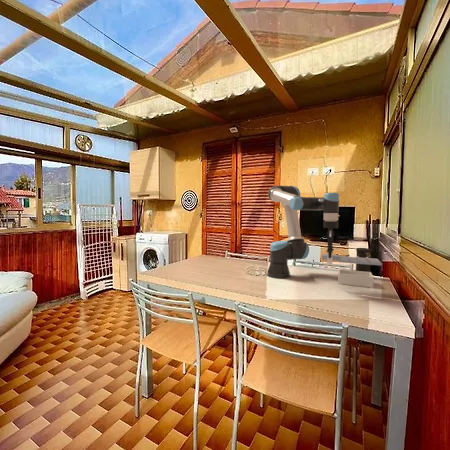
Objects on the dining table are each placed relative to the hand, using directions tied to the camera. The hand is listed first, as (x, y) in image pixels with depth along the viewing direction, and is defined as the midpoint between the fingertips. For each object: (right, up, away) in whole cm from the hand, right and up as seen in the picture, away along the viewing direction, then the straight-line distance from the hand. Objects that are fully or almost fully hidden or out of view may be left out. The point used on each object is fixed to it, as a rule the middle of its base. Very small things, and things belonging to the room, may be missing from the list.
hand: (329, 262), depth 138 cm
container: (+33, -14, +27) cm, 45 cm away
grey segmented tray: (+9, +2, -4) cm, 10 cm away
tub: (+20, -15, +12) cm, 27 cm away
